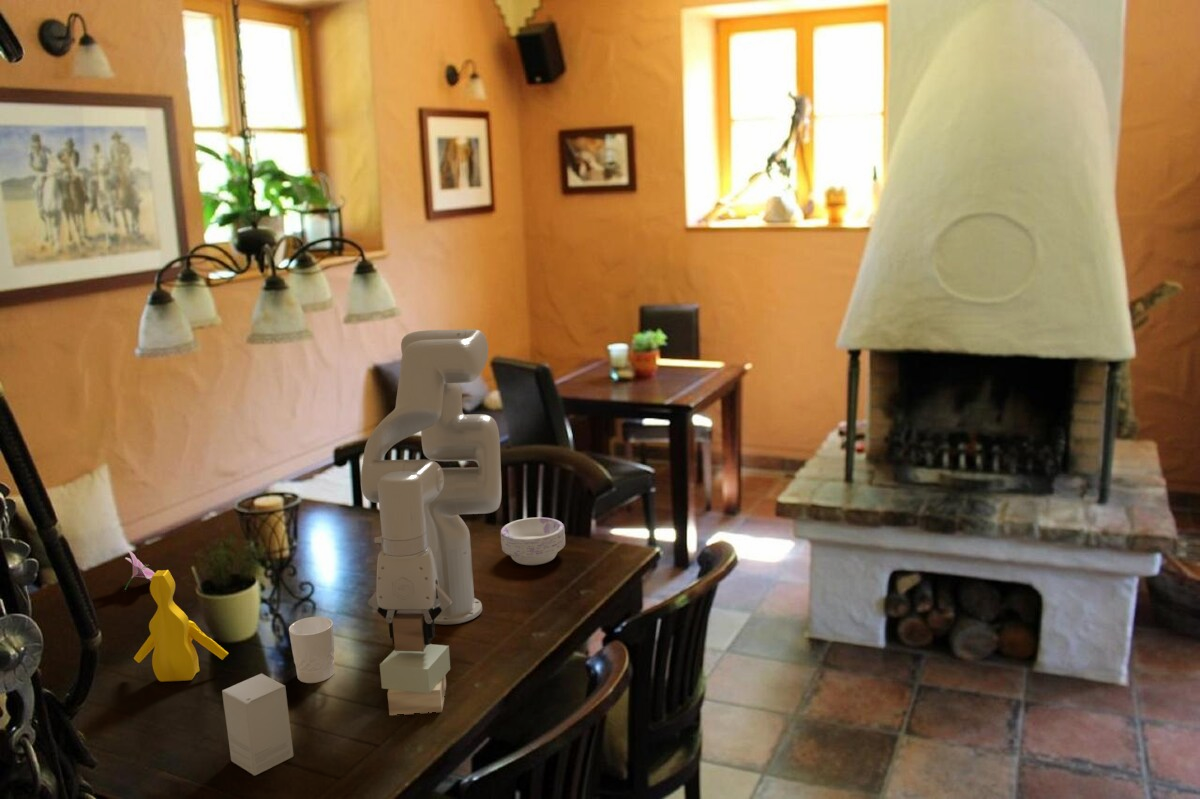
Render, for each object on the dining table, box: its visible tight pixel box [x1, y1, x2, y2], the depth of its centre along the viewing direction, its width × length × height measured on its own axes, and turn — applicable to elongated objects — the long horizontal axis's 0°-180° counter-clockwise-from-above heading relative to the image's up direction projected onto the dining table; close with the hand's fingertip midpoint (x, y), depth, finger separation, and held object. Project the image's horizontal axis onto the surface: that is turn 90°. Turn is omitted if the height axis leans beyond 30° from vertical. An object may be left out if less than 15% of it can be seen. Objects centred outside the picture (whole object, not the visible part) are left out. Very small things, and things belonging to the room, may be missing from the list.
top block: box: [379, 643, 451, 693], centre depth 184 cm, size 9×9×4 cm
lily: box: [123, 545, 156, 590], centre depth 239 cm, size 12×12×10 cm
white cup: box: [288, 616, 335, 684], centre depth 195 cm, size 8×8×10 cm
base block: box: [387, 674, 447, 716], centre depth 184 cm, size 9×9×4 cm
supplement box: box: [221, 673, 294, 776], centre depth 167 cm, size 7×7×13 cm
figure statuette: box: [133, 569, 229, 682], centre depth 194 cm, size 18×8×22 cm, turn 91°
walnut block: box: [392, 610, 427, 652], centre depth 182 cm, size 5×5×6 cm
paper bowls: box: [500, 516, 566, 566], centre depth 248 cm, size 15×15×8 cm
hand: (412, 640), depth 183 cm, fingers closed on walnut block, 5 cm apart
